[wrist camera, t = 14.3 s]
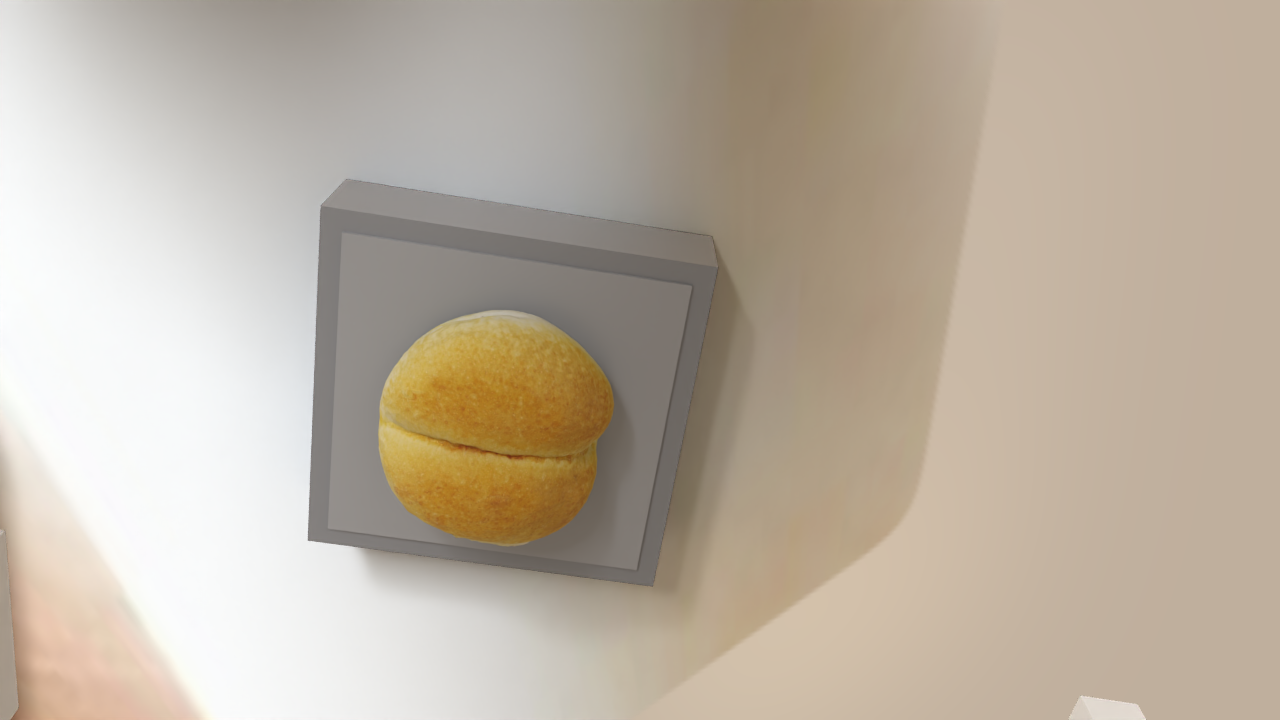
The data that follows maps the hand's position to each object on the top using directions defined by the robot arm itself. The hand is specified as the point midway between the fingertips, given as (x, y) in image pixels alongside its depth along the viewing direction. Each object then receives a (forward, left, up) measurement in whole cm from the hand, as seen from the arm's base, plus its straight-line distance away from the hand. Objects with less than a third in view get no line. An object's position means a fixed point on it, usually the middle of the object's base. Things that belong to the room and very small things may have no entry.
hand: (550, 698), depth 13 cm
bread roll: (-3, -10, -25) cm, 27 cm away
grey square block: (-3, -10, -29) cm, 30 cm away
